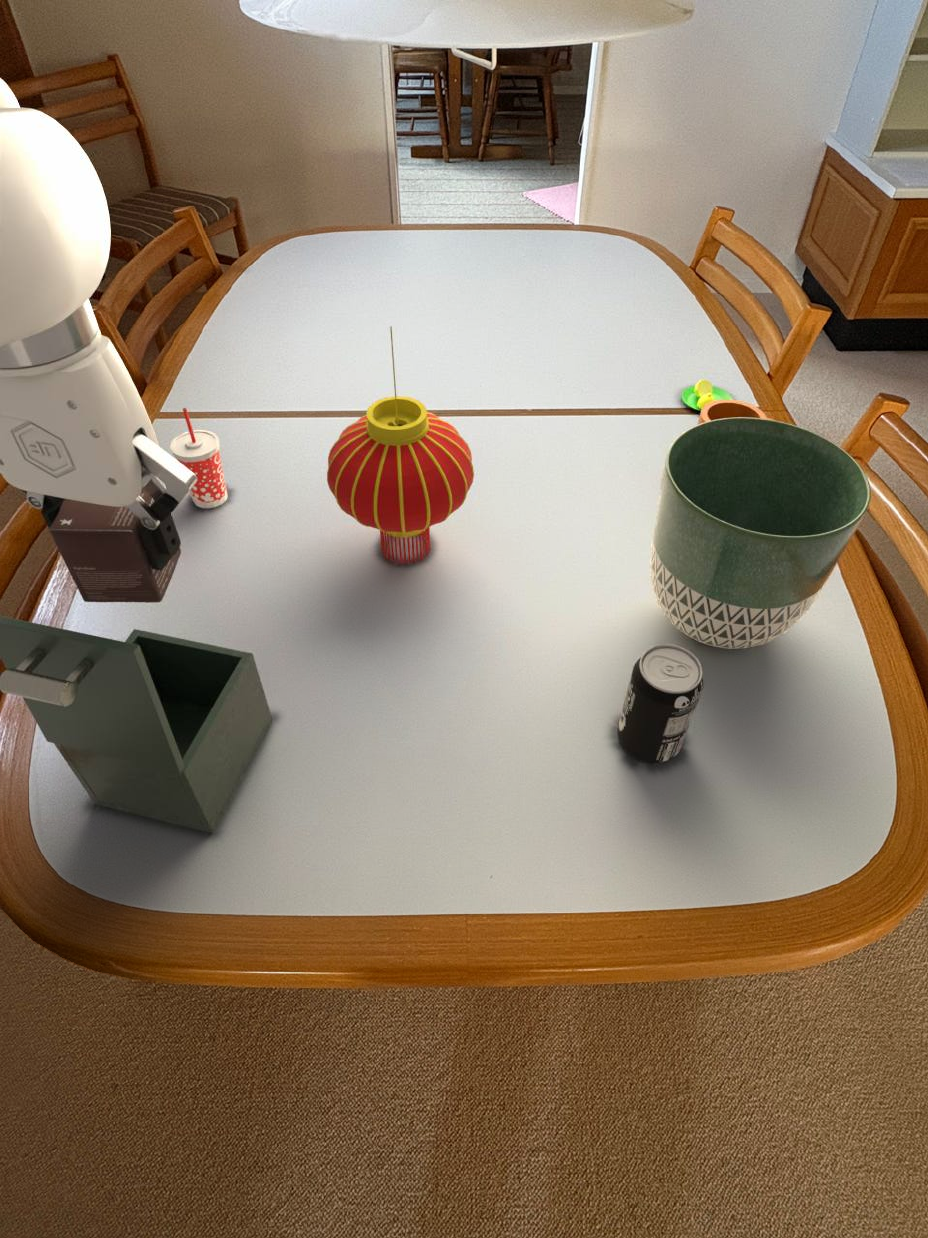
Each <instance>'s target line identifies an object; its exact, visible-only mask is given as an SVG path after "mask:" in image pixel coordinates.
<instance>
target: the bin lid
mask: <svg viewBox="0 0 928 1238" xmlns="http://www.w3.org/2000/svg"><path fill="white" fill-rule="evenodd" d="M0 660H1V661H2V664H3V665H4V667H5V668H6V669H5V670H4V671H3V672H2V673H1V674H0V691H1V692H2V693H3V694H7V695H12V696H16V697H20V698H22V699H23V701H24V703H25V705H26V706H27V708H28V710H29V712H30V713H31V715H32V717H33V719H34V720H35V723H36V724H37V726H38V728H39V729H40V732H41V733H42V735H43V737H44V738H45V740H46V742H47V743H51V744H54V743H55V744H59V745H63V746H68V747H72V748H76V749H80V750H84V751H89V752H93V753H97V754H101V755H105V756H110V757H114V758H118V759H122V760H126V761H131V762H135V763H139V764H143V765H147V766H152V767H156V768H160V769H164V770H168V771H173V772H177V773H181V771H182V769H183V768H184V763H183V760H182V758H181V755H180V752H179V750H178V747H177V744H176V742H175V739H174V736H173V734H172V731H171V728H170V726H169V723H168V720H167V718H166V715H165V712H164V710H163V707H162V704H161V702H160V699H159V697H158V694H157V691H156V689H155V686H154V683H153V681H152V678H151V675H150V673H149V670H148V667H147V665H146V662H145V659H144V657H143V654H142V651H141V649H140V646H139V645H137V644H132V643H127V642H125V641H122V640H116V639H113V638H107V637H104V636H99V635H97V636H96V635H93V634H89V633H85V632H79V631H74V630H69V629H65V628H60V627H55V626H51V625H46V624H40V623H37V622H31V621H28V620H27V621H26V620H22V619H17V618H13V617H7V616H3V615H0ZM55 744H54V745H55Z"/></svg>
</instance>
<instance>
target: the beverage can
mask: <svg viewBox="0 0 928 1238" xmlns="http://www.w3.org/2000/svg"><path fill="white" fill-rule="evenodd" d="M631 671H632V672H631V675H630V679H629V683H628V686H627V690H626V695H625V699H624V703H623V706H622V710H621V714H620V718H619V722H618V726H617V733H616V734H617V739H618V741H619V744H620V746H621V747H622V749H623V750H624V751H625V752H626V753H627V754H628V755H629V756H631V757H632V758H633V759H635V760H637V761H640V762H643V763H646V764H652V765H653V764H663V763H667V762H669V761H671V760H673V759H674V758H675V757H676V756H677V755H678V754H679V752H680V751H681V748H682V746H683V744H684V741H685V739H686V736H687V733H688V730H689V727H690V725H691V722H692V720H693V716H694V714H695V712H696V709H697V706H698V703H699V701H700V698H701V695H702V693H703V689H704V684H705V683H704V682H705V681H704V677H703V667H702V664H701V663H700V660H699V659H698V658H697V656H695V654H694V653H692V652H691V651H690V650H688V649H687V648H684V647H683V646H679V645H676V644H671V643H660V644H656V645H653V646H651V647H649V648H647V649H646V650H644V652H643V653H642V654H641V657H639V658H638V659H637V660H636V662H635V663H634V665H633V668H632V670H631Z"/></svg>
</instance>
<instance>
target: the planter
mask: <svg viewBox="0 0 928 1238" xmlns="http://www.w3.org/2000/svg"><path fill="white" fill-rule="evenodd" d="M774 420H775V419H773V420H769V419H761V418H747V417H737V418H724V419H717V420H712V421H708V422H705V423H702V424H699V425H698V424H696V425H694V426H692V427H690V428H688V429H687V430H685V431H683V432H682V433H680V435H678V436H677V437H676V438H675V439H674V440H673V442H671V444H670V446H669V448H668V450H667V451H666V456H665V460H664V465H663V471H662V475H661V481H660V488H659V496H658V501H657V507H656V512H655V518H654V525H653V533H652V538H651V545H650V552H649V575H650V577H649V578H650V584H651V588H652V592H653V595H654V598H655V600H656V603H657V605H658V607H659V608H660V611H661V612H662V613H663V615H664V616H665V617H666V619H667V620H668V621H669V622H670V623H671V624H672V625H673V626H674V627H675V628H676V629H678V630H679V631H680V632H681V633H683V634H684V635H685V636H687V637H689V638H690V639H693V640H695V641H697V642H698V643H702V644H704V645H707V646H709V647H715V648H720V649H729V650H733V649H734V650H735V649H738V650H739V649H748V648H753V647H758V646H761V645H765V644H767V643H770V642H772V641H774V640H776V639H778V638H779V637H781V636H782V635H784V634H785V633H787V632H789V631H790V630H791V629H792V628H793V627H794V626H795V625H796V624H798V622H799V621H800V620H802V618H803V617H804V616H805V615H806V614H807V613H808V611H809V610H810V609H811V608H812V606H813V605H814V603H815V602H816V600H817V599H818V597H819V595H820V593H821V592H822V590H823V588H824V586H825V585H826V583H827V581H828V580H829V578H830V577H831V575H832V573H833V571H834V570H835V568H836V566H837V564H838V563H839V560H840V559H841V557H842V555H843V554H844V552H845V550H846V548H847V546H848V545H849V543H850V542H851V540H852V538H853V536H854V535H855V533H856V532H857V530H858V528H859V527H860V524H861V523H862V521H863V519H864V517H865V515H866V513H867V510H868V509H869V506H870V504H871V499H872V489H871V484H870V481H869V479H868V476H867V474H866V472H865V471H864V470H863V468H862V467H861V465H860V464H859V463H858V462H857V460H856V459H855V458H854V457H853V456H851V455H850V453H848V452H847V451H846V450H845V449H844V448H842V447H841V446H839V445H838V444H836V443H835V442H833V441H832V440H831V439H829V438H826V437H824V436H822V435H821V434H818V433H816V432H814V431H811V430H809V429H807V428H803V427H801V426H798V425H795V424H791V423H787V422H783V421H779V420H775V421H774Z"/></svg>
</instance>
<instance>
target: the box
mask: <svg viewBox="0 0 928 1238" xmlns="http://www.w3.org/2000/svg"><path fill="white" fill-rule="evenodd" d="M140 497H141V498H142V499H143V500H144V501H145V502H146V503H147V505H148V506H149V507H150V506H151V504H152V503H153V502H154V501H155V500H154V499H153V498H152V497H151V496H150V495H149V493H148V492H147V491H146V490H145V489H144V488H143V489H142V490H141V494H140ZM140 525H141V522H140V521H139V520H138V519H137V518H136V517H135V516H134V515H133V513H132V512H131V511H130V510H129V509H128V508H127V507H126V506H124V507H113V506H106V505H99V504H93V503H88V502H82V501H76V500H70V499H65V500H64V501H63V503H62V505H61V507H60V511H59V513H58V515H57V516H56V518H55V520H54V521H53V523H52V525H51V526H50V528H49V527H48V532H49V533H50V535H51V536H52V539H53V541H54V544H55V546H56V547H57V549H58V552H59V554H60V556H61V558H62V560H63V562H64V564H65V566H66V568H67V570H68V572H69V574H70V576H71V578H72V579H73V582H74V584H75V586H76V588H77V590H78V592H79V595H80V596H81V598H82V600H83V602H85V603H144V604H145V603H150V604H153V603H161V602H162V601H163V599H164V597H165V595H166V593H167V590H168V588H169V585H170V583H171V580H172V579H173V575H174V573H175V570H176V568H177V565H178V562H179V559H180V557H181V555H182V550H181V547H180V548H179V550H178V551H177V553H176V554H175V555H174V556H173V557H172V558H171V559H170V561H169V562H168V563H167V565H166V566H165V567H164V569H163V570H161V571H160V570H155V569H153V568H152V567H151V564H150V562H149V560H148V557H147V554H146V552H145V550H144V547H143V545H142V542H141V540H140V537H139V534H138V527H139V526H140Z"/></svg>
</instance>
